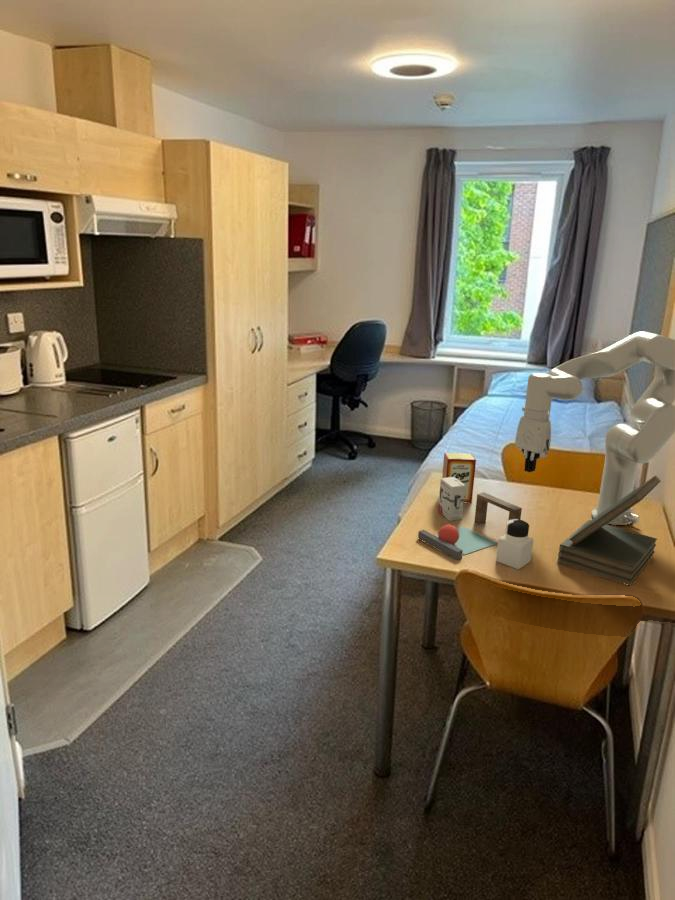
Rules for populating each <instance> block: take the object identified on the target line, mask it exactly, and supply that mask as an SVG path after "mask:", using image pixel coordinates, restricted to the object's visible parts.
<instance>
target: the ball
mask: <svg viewBox="0 0 675 900" xmlns="http://www.w3.org/2000/svg"><path fill="white" fill-rule="evenodd" d="M457 528H458V527H456V526H455V525H452V524H445V525H443V526H441V527H440V528H439V530H438V533H437V534H438V537H439V538H440V539H442V540H444V541H446V542H448V543H450V544H452V545H453V544H455V543H456V542H457V541H458V539H459V532H458V530H457Z"/></svg>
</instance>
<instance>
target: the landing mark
mask: <svg viewBox="0 0 675 900" xmlns="http://www.w3.org/2000/svg"><path fill="white" fill-rule="evenodd" d="M456 528H457V530H458V532H459V539H458V541H457V542H456V543H455V544H453V545H454V546H456V547H457V548H459V549H461V550H463V552H462V556H463V555H464V556H466V555H468V554H471V553H474V552H478V551H480V550H484V549H487V548H489V547H492V546H495V545H498V541H497V542H496V541H494V540H492V539H490V538H488V537H487V536H484V535H482V534H480V533H478V532H476V531H474V530H473V529H469V528H468V527H466V526H460V527H456ZM435 535H436V536H438V533H437V534H435ZM438 538H439V537H438Z"/></svg>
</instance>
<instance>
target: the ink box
mask: <svg viewBox="0 0 675 900" xmlns="http://www.w3.org/2000/svg"><path fill="white" fill-rule="evenodd" d="M439 481H440V484H439V492H438V493H439V496H438V505H437V511H438V512H439V513H440V514H441V515H442V516H443V517H444V516H445V517H444V518H446V519H447V521H449V520H450V521H459V520H462V519H463V511H464V504H465V503H464V493H465V484H463V483H462V482H460V481H459V480H458V479H456V478H455V477H447V478H442V477H441V478H440V480H439Z"/></svg>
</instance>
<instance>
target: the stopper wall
mask: <svg viewBox="0 0 675 900" xmlns="http://www.w3.org/2000/svg"><path fill="white" fill-rule="evenodd" d="M417 535H418V536H417V539H418V538H419V539H421V540H423V541H425V542H426V543H425V542H424V543H425V544H427V543H428V544H430V545H432V546H434V547H435V548H434V547H433V548H434V549H436V548H437V549H436V550H438V549H439V550H441V551H442V552H441V551H440V552H441V553H443V552H444V553H443V554H445V553H446V554H445V555H447V554H448V555H450V556H452V557H453V559H454V558H455V559H454V560H456V559H458V560H461V559H462V558H463V554H462V552H463V550H461V549H459V548H457V547H456V546H454V545H452V544H450V543H448V542H446V541H444V540H442V539H440V538H438V537H437V536H435V535H436V534H433V533H431V532H429V531H427V530H425V529H421V530H419V531H418V534H417ZM419 539H418V540H419ZM421 540H420V541H421ZM423 541H422V542H423ZM428 544H427V545H428ZM430 545H429V546H430ZM432 546H431V547H432ZM439 550H438V551H439ZM448 555H447V556H448ZM450 556H449V557H450ZM452 557H451V558H452Z"/></svg>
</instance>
